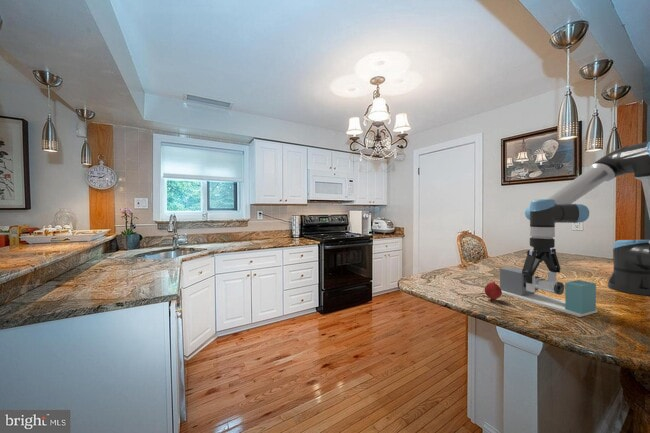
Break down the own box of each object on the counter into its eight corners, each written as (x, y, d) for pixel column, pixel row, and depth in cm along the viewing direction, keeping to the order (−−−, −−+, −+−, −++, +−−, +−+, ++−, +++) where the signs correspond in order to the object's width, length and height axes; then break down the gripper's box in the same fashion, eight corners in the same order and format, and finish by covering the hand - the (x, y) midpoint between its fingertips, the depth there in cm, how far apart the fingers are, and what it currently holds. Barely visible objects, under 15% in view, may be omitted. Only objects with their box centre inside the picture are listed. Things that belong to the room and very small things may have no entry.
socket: (579, 305, 90) (579, 279, 90) (595, 310, 86) (595, 283, 86) (565, 309, 88) (565, 282, 87) (581, 314, 83) (581, 286, 83)
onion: (485, 301, 99) (485, 281, 98) (483, 296, 104) (483, 278, 104) (502, 303, 96) (502, 283, 96) (500, 298, 101) (500, 279, 101)
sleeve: (511, 287, 112) (511, 267, 112) (534, 293, 104) (534, 271, 104) (500, 289, 110) (499, 268, 110) (521, 296, 101) (521, 273, 101)
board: (514, 289, 113) (514, 287, 113) (597, 312, 87) (597, 309, 87) (497, 292, 109) (497, 290, 109) (579, 316, 83) (579, 314, 83)
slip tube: (504, 283, 109) (504, 271, 109) (512, 281, 111) (512, 269, 111) (555, 296, 91) (555, 282, 91) (564, 294, 93) (564, 280, 93)
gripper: (549, 235, 105) (549, 283, 106) (511, 237, 97) (510, 290, 97) (572, 237, 98) (571, 288, 99) (532, 239, 90) (532, 296, 90)
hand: (541, 289), depth 98 cm, fingers open, 13 cm apart
